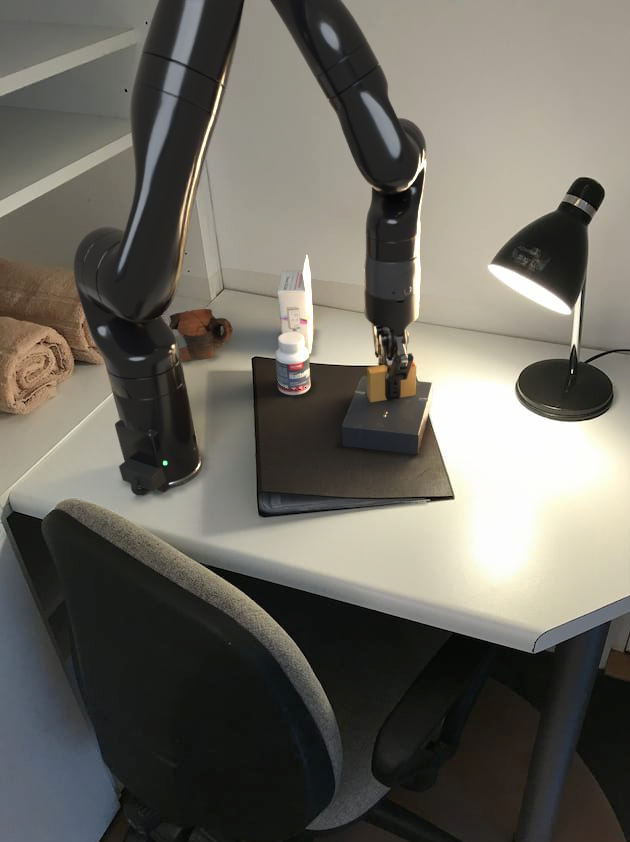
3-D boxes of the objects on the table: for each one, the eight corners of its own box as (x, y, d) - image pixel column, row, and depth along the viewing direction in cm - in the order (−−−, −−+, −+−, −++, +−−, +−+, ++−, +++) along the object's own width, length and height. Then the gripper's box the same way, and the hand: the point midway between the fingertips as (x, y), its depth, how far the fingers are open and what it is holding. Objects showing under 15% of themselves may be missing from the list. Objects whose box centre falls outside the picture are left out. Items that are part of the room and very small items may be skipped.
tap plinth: (418, 454, 107) (419, 433, 105) (341, 446, 109) (340, 425, 107) (432, 399, 118) (433, 379, 116) (362, 392, 120) (362, 372, 118)
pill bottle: (291, 399, 119) (286, 350, 113) (271, 386, 122) (266, 337, 116) (317, 387, 121) (314, 338, 116) (297, 375, 124) (293, 326, 119)
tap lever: (370, 402, 111) (370, 371, 108) (367, 396, 112) (366, 365, 109) (415, 395, 112) (416, 364, 109) (411, 389, 114) (412, 358, 110)
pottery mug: (164, 365, 128) (153, 316, 127) (190, 362, 137) (181, 316, 136) (227, 353, 125) (217, 303, 124) (250, 351, 134) (241, 304, 133)
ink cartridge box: (286, 331, 136) (280, 252, 127) (314, 331, 136) (309, 252, 127) (282, 355, 130) (274, 273, 120) (311, 354, 130) (305, 273, 120)
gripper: (352, 267, 106) (354, 373, 117) (379, 310, 95) (378, 423, 106) (403, 260, 107) (400, 367, 118) (435, 303, 97) (429, 415, 108)
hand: (390, 393), depth 112 cm, fingers closed on tap lever, 2 cm apart
